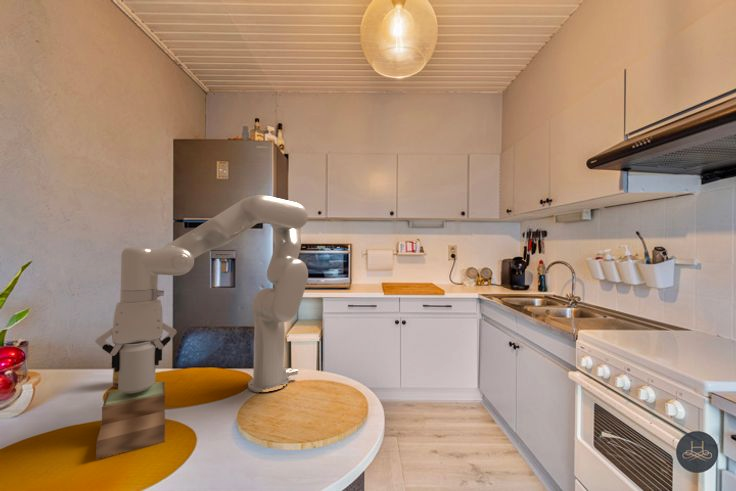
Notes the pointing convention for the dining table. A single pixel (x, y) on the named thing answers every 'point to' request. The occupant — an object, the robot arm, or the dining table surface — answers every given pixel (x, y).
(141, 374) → the can
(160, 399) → the step stand
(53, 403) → the dining table surface
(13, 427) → the dining table surface
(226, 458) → the dining table surface
